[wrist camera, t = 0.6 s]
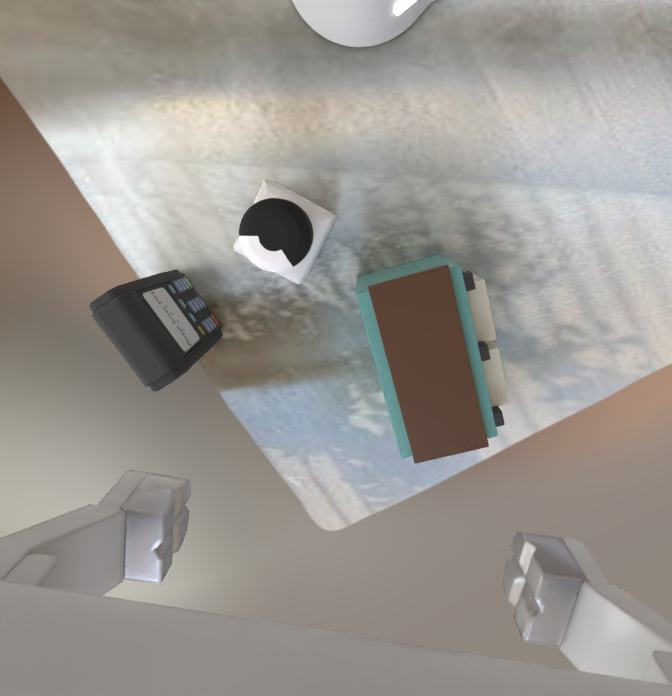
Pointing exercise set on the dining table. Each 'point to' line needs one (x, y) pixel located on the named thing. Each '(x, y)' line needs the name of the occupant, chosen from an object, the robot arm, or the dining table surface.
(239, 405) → the dining table surface
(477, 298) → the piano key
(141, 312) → the card reader
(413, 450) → the toy piano
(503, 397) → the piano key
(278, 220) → the medicine bottle
